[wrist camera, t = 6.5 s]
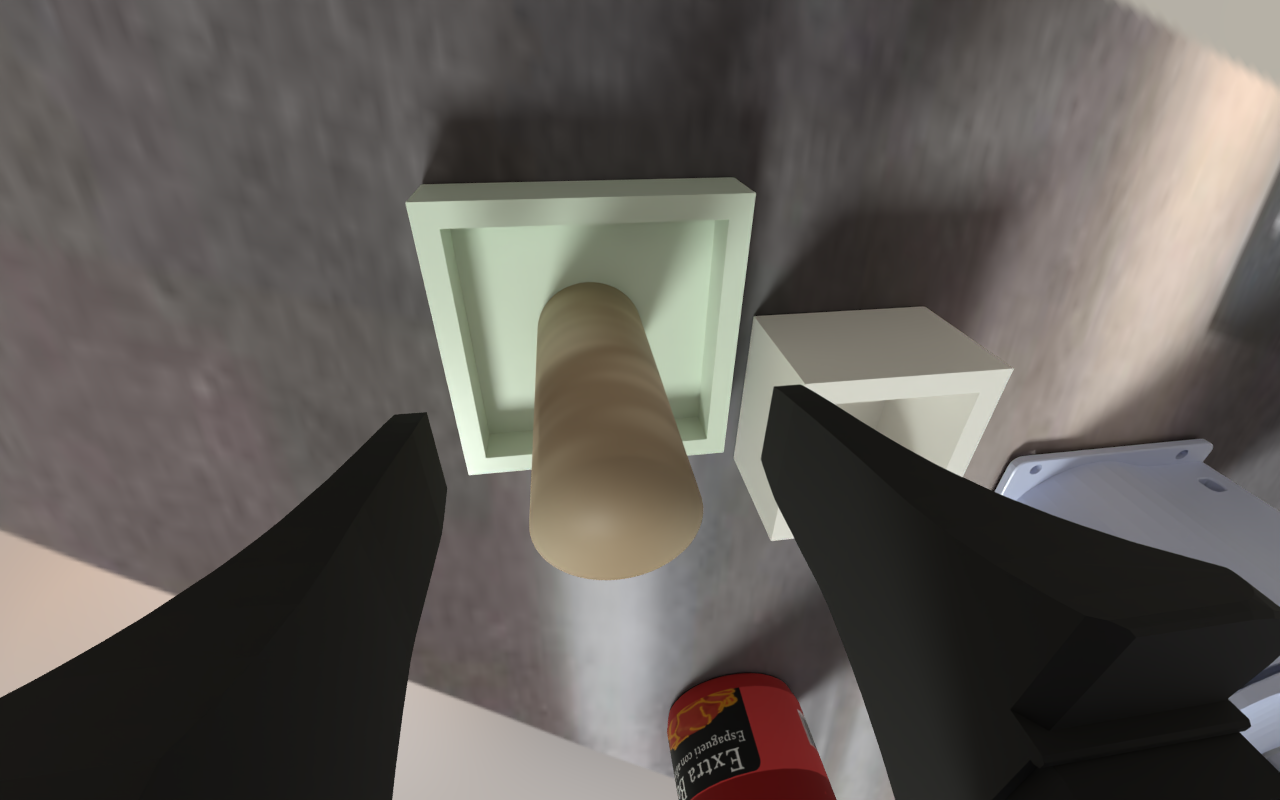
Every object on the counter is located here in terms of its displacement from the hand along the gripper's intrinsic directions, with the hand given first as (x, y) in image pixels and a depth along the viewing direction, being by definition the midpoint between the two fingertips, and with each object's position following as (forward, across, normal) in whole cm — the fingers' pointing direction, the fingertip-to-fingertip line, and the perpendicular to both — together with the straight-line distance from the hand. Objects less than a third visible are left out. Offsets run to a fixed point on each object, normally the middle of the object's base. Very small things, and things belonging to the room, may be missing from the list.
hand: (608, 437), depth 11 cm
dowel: (+5, 0, 0) cm, 5 cm away
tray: (+6, 0, 0) cm, 6 cm away
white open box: (+6, -8, +3) cm, 10 cm away
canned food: (+6, -7, +25) cm, 27 cm away
